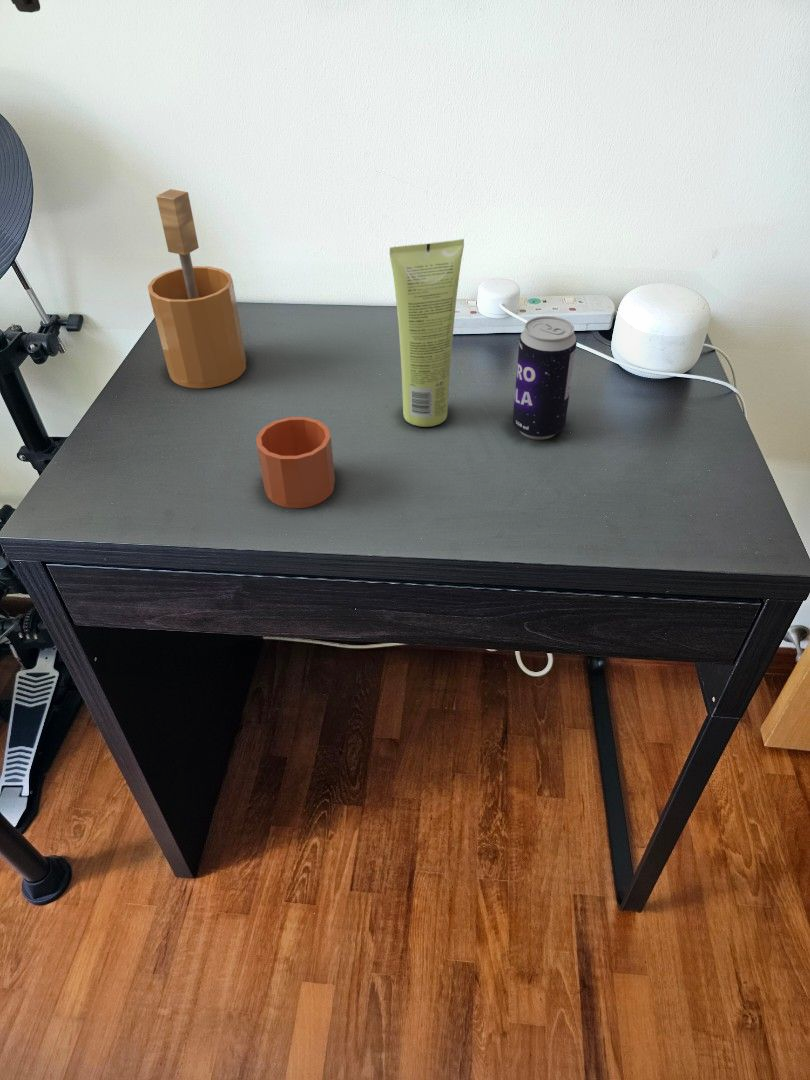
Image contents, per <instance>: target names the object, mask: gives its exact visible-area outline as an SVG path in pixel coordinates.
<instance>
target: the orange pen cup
mask: <svg viewBox="0 0 810 1080" xmlns="http://www.w3.org/2000/svg"><path fill="white" fill-rule="evenodd" d="M192 266H193V271H194V275H195V280H196V285H197V290H198V295H199V298H195V299H188V295H187V290H186V285H185V280H184V276H183V271H182V267H179V268H175V269H171V270H168V271H165V272H163V273H161V274H159V275H157V276H156V277H154V278H152V279H151V281H150V282H149V283H148V284H147V291H148V296H149V301H150V303H151V309H152V312H153V316H154V319H155V324H156V329H157V332H158V335H159V340H160V345H161V348H162V353H163V356H164V360H165V364H166V369H167V373H168V376H169V378H170V380H171V381H172V382H173V383H175V384H176V385H177V386H181V387H184V388H188V389H196V390H197V389H198V390H199V389H211V388H212V389H213V388H217V387H222V386H225V385H227V384H229V383H231V382H233V381H236V380H237V379H239V377H241V376H242V375H243V374H244V373H245V371H246V369H247V357H246V356H247V355H246V351H245V344H244V339H243V333H242V326H241V322H240V316H239V309H238V304H237V297H236V292H235V286H234V285H235V284H234V280H233V277H232V275H231V273H229V272H227V271H226V270H224V269H222V268H218V267H213V266H206V265H204V266H202V265H201V266H200V265H199V266H198V265H192Z"/></svg>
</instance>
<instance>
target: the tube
mask: <svg viewBox="0 0 810 1080" xmlns="http://www.w3.org/2000/svg"><path fill="white" fill-rule="evenodd" d="M464 247H465V239H464V238H458V239H450V240H443V241H435V242H427V243H415V244H406V245H405V244H404V245H395V246H389V259H390V264H391V270H392V277H393V284H394V293H395V301H396V313H397V314H396V315H397V325H398V337H399V350H400V351H399V353H400V367H401V390H402V391H401V393H402V413H403V418H404V420H405V421H406V423H408V424H410V425H413V426H417V427H422V428H423V427H424V428H429V427H434V426H437V425H440V424H442V423H444V422H445V421H446V420H447V417H448V410H449V409H448V408H449V407H448V406H449V392H450V391H449V389H450V375H451V362H452V351H453V350H452V349H453V338H454V327H455V316H456V305H457V296H458V288H459V280H460V272H461V265H462V260H463V255H464Z"/></svg>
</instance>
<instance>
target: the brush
mask: <svg viewBox="0 0 810 1080" xmlns="http://www.w3.org/2000/svg"><path fill="white" fill-rule="evenodd" d="M156 201H157V207H158V211H159V215H160V220H161V224H162V229H163V233H164V238H165V243H166V247H167V252H168V253H172V254H177V255H178V257H179V261H180V266H181V268H182V271H183V276H184V280H185V285H186V290H187V295H188V299H195V298H199V295H198V290H197V285H196V280H195V275H194V271H193V266H194V265H193V262H192V255H191V253H192V252H194V251H196V250H197V249H199V242H198V241H199V240H198V236H197V232H196V226H195V221H194V216H193V211H192V205H191V200H190V196H189V192H188V191H184V190H178V189H172V188H170V189H168V190H165V191H163V192H161V193H160V194H158V195H156Z"/></svg>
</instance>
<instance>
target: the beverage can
mask: <svg viewBox="0 0 810 1080" xmlns="http://www.w3.org/2000/svg"><path fill="white" fill-rule="evenodd" d="M518 340H519V341H518V351H517V364H516V374H515V385H514V398H513V410H512V424H513V426H514V427H515V428H516V429H517V430H518V431H519V432H520V433H521V434H522V435H523V436H525V437H527V438H528V439H532V440H547V439H551V438H553V437H554V436H555V435H556V434H559V433H561V432H562V431H563V430H564V428H565V427H566V422H567V416H568V407H569V402H570V401H569V400H570V394H571V387H572V386H571V385H572V379H573V372H574V364H575V357H576V351H577V343H578V340H577V336H576V334H575V326H574V325H573V323H572V322H570V321H569V320H567V319H565V318H562V317H558V316H553V315H552V316H551V315H544V316H543V315H542V316H537V317H533V318H530V319H528V321H526V323H525V324H524V329H523V330H522V332H521V333H520V336H519V339H518Z"/></svg>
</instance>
